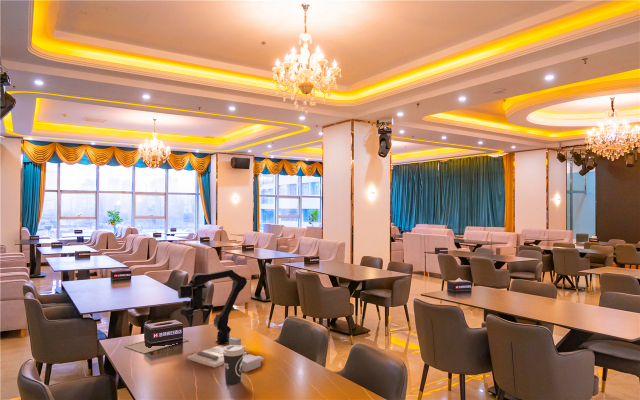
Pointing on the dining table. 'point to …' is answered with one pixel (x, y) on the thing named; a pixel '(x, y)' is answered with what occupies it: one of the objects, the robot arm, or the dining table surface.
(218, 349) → the board
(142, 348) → the picture frame
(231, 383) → the coffee cup
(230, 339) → the cream plate grey block
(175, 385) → the dining table surface
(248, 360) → the charger
